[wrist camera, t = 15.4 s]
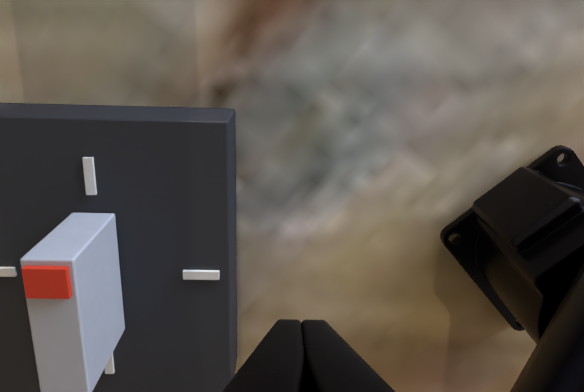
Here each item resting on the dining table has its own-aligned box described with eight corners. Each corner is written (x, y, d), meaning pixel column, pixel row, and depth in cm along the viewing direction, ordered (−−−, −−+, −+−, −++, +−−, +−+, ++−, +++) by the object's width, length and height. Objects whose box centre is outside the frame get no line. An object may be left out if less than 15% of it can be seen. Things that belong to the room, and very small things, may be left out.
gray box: (125, 329, 20) (87, 403, 16) (85, 328, 20) (37, 403, 16) (115, 212, 19) (70, 263, 15) (72, 211, 19) (14, 262, 15)
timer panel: (237, 356, 24) (231, 402, 21) (28, 354, 24) (-9, 400, 21) (235, 108, 21) (227, 122, 18) (-13, 102, 20) (-65, 114, 17)
